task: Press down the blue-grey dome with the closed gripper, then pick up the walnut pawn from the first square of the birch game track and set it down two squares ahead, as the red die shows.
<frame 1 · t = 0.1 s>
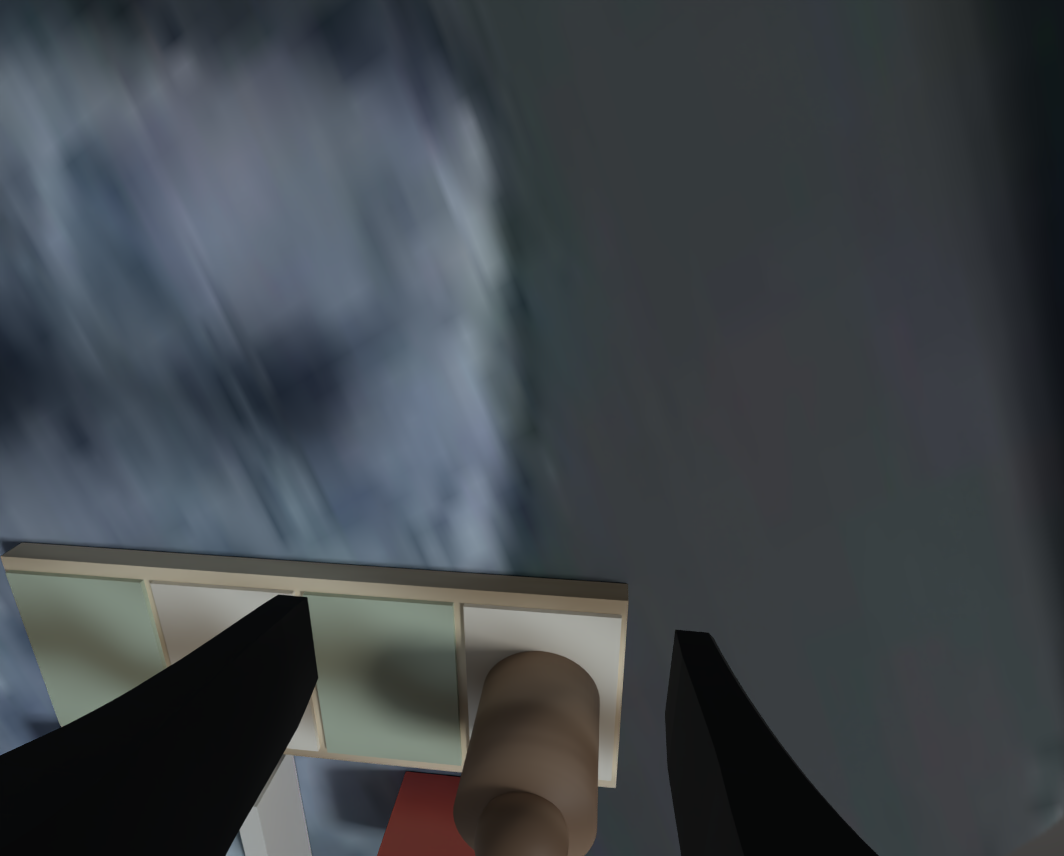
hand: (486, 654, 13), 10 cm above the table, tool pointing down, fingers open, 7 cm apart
track board: (323, 656, 26), on the table
dome housing: (207, 811, 31), on the table
pawn: (540, 697, 24), point 1 cm above the table, touching track board
red die: (452, 808, 29), on the table
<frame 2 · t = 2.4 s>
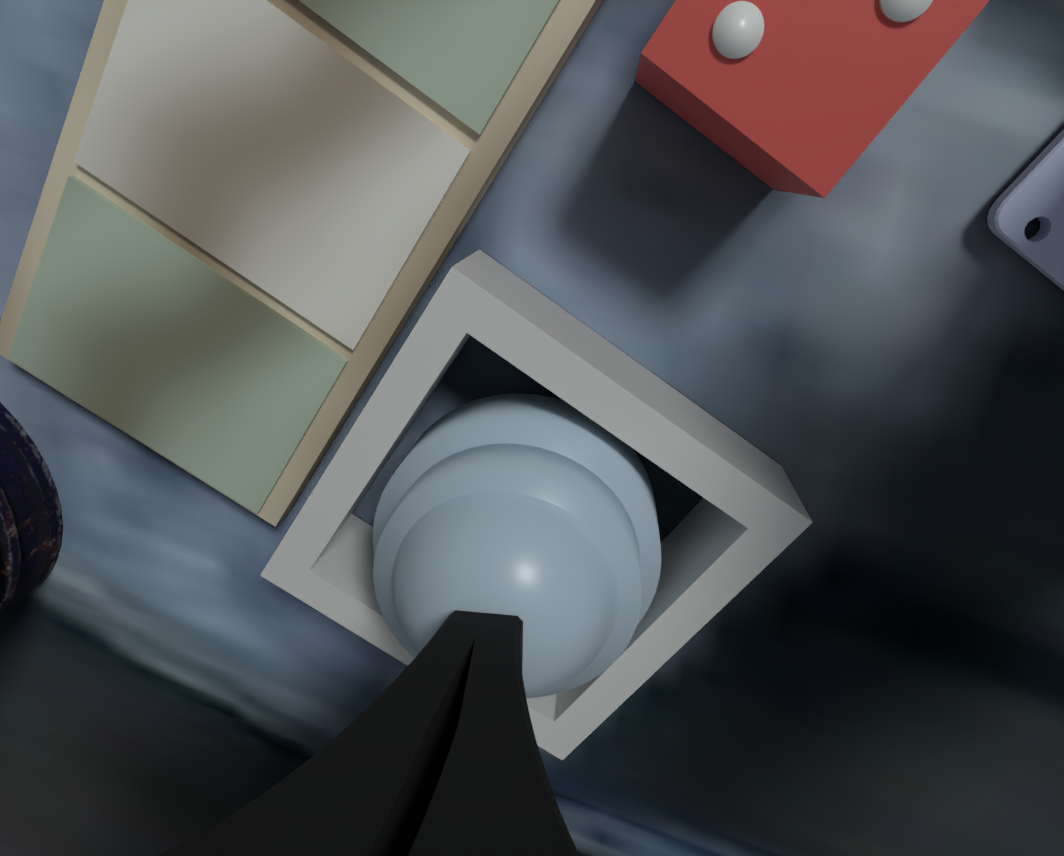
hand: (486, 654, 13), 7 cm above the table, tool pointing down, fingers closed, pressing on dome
track board: (343, 39, 15), on the table
dome: (509, 574, 15), point 4 cm above the table, slide at 0.3 cm, touching gripper
dome housing: (530, 493, 19), on the table
red die: (766, 52, 14), on the table
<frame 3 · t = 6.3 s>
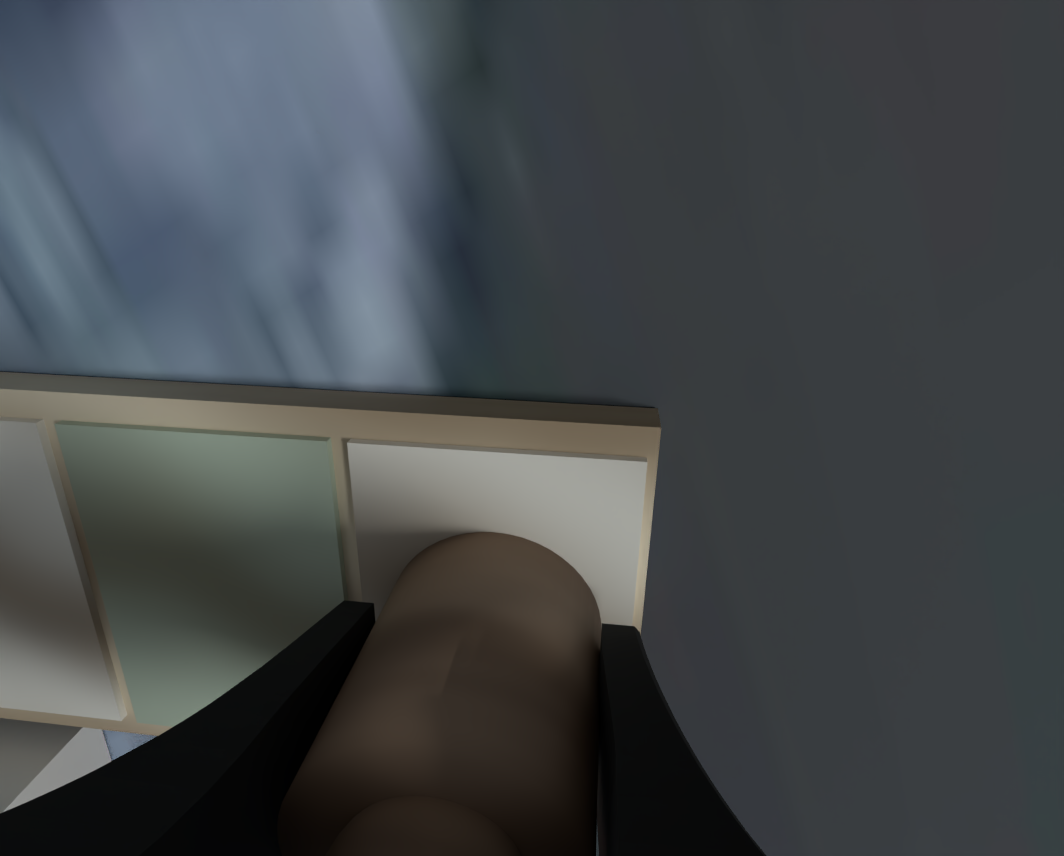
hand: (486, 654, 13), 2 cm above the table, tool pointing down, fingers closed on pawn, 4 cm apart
track board: (128, 557, 15), on the table
pawn: (494, 624, 13), point 1 cm above the table, touching gripper, track board
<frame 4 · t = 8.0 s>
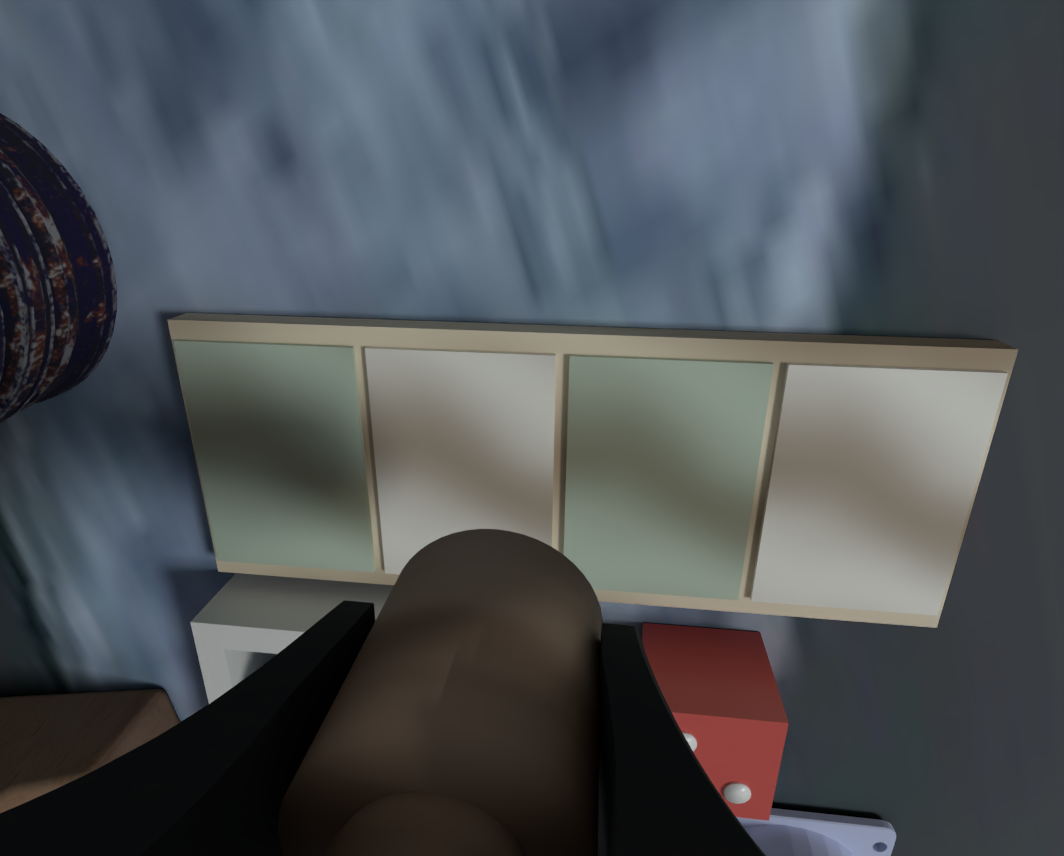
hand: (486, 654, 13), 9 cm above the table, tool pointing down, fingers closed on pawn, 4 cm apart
track board: (562, 463, 21), on the table
dome housing: (377, 685, 25), on the table
pawn: (495, 621, 13), point 8 cm above the table, touching gripper
red die: (695, 672, 23), on the table
wooden block: (98, 725, 29), on the table
when the fingers open (4 cm above the table, at t = 9.7 s): pawn drops 1 cm, resting on track board.
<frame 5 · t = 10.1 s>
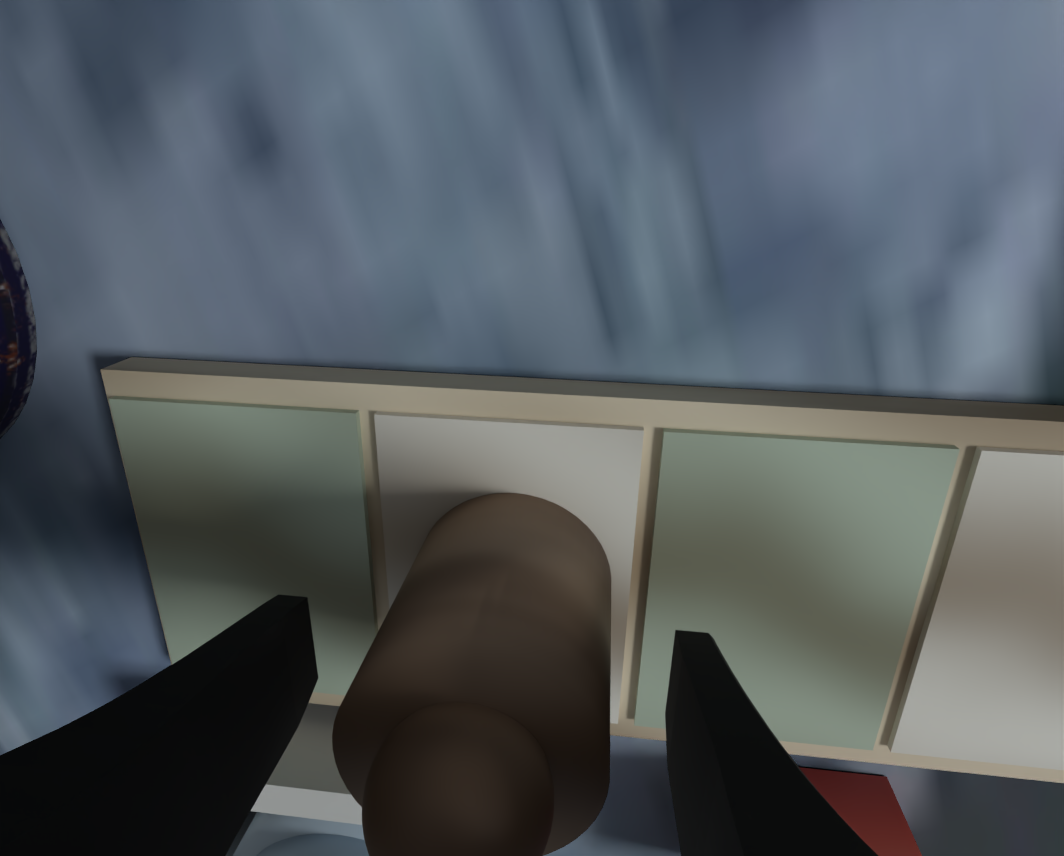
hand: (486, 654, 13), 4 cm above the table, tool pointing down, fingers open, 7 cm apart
track board: (636, 562, 16), on the table
dome housing: (382, 819, 20), on the table
pawn: (513, 579, 15), point 1 cm above the table, touching track board
red die: (795, 820, 18), on the table
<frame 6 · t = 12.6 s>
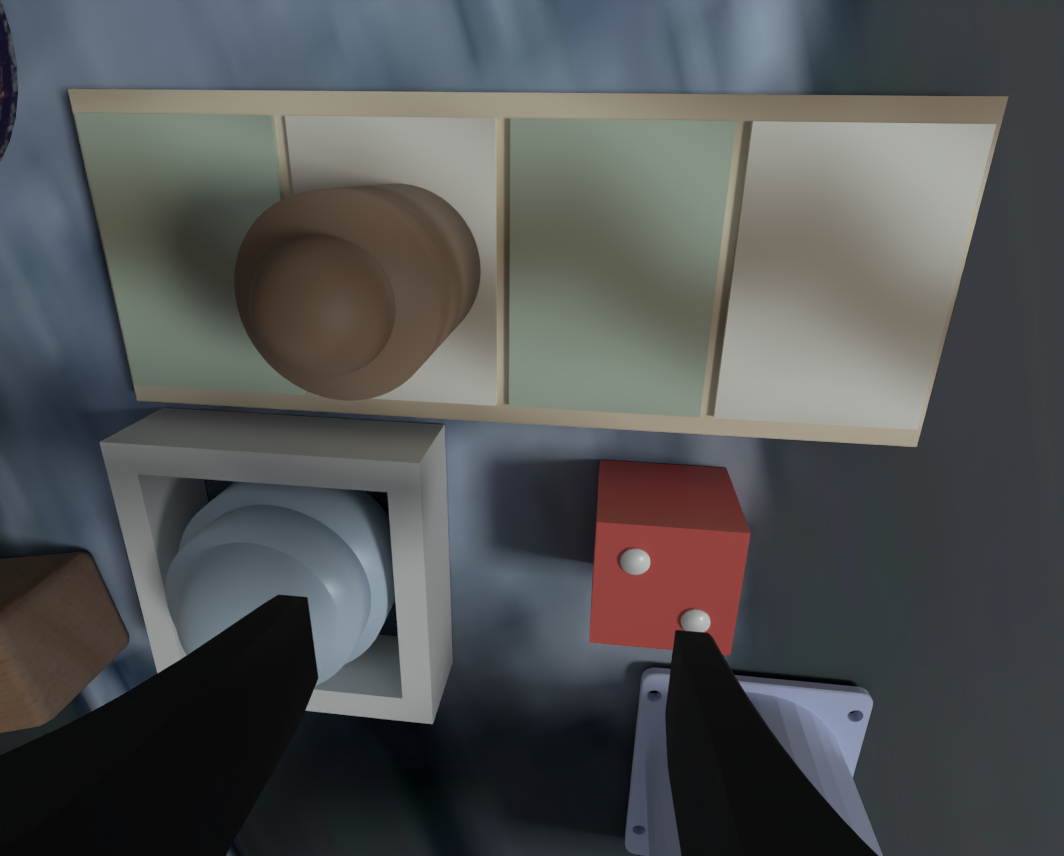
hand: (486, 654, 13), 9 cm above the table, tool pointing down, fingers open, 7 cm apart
track board: (508, 267, 19), on the table
dome: (270, 599, 20), point 3 cm above the table, slide at 0.9 cm
dome housing: (316, 542, 24), on the table
pawn: (403, 267, 18), point 1 cm above the table, touching track board
red die: (656, 518, 22), on the table
wooden block: (23, 599, 27), on the table
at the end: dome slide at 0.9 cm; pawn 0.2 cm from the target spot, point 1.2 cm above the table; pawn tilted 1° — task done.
